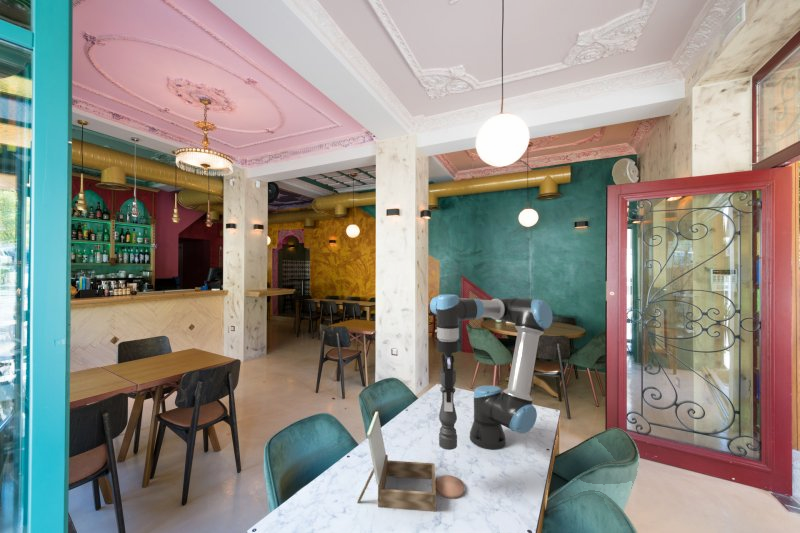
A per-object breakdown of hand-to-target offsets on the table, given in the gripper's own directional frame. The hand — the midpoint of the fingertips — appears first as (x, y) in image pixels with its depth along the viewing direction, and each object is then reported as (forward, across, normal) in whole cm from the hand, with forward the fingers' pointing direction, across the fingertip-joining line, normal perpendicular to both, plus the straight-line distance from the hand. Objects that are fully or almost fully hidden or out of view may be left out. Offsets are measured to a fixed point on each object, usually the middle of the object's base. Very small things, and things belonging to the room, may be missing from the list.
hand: (447, 407), depth 106 cm
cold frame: (+27, +3, -17) cm, 32 cm away
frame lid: (+20, +3, -24) cm, 32 cm away
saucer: (+27, 0, 0) cm, 27 cm away
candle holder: (+13, 0, 0) cm, 13 cm away
